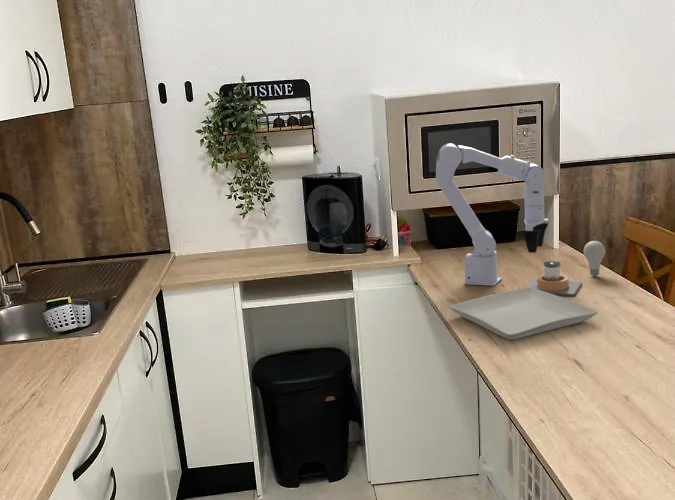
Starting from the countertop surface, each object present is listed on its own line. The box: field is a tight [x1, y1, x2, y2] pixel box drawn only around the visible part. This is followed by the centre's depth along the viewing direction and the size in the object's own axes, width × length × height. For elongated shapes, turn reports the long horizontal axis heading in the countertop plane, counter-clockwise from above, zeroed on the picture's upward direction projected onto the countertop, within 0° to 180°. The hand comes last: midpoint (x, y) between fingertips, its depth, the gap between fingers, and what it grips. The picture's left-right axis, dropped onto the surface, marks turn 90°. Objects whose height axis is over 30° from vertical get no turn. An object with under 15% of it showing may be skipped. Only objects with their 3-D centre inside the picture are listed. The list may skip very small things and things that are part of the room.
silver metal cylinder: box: [542, 260, 561, 281], centre depth 209 cm, size 5×5×7 cm
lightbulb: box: [583, 240, 606, 278], centre depth 217 cm, size 6×6×11 cm
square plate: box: [448, 287, 599, 340], centre depth 186 cm, size 27×27×4 cm
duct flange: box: [525, 273, 583, 298], centre depth 209 cm, size 14×12×3 cm
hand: (535, 249), depth 218 cm, fingers open, 7 cm apart
